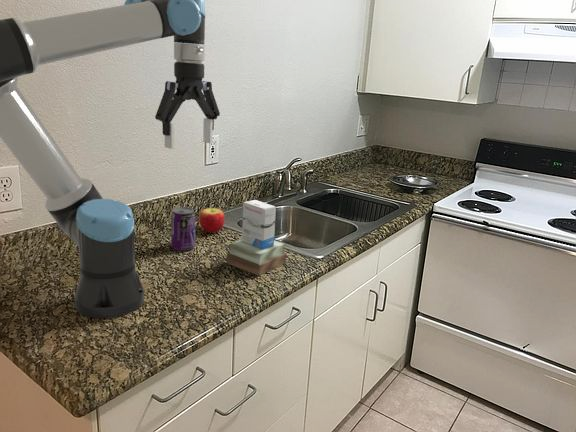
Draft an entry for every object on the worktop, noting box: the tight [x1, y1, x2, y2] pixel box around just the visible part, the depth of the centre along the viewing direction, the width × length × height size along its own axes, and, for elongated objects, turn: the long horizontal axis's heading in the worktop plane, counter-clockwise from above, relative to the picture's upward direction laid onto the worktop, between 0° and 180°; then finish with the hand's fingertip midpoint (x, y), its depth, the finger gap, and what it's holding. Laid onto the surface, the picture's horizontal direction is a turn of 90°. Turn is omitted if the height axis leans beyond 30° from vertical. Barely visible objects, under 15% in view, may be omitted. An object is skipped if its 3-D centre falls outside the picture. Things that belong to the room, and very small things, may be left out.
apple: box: [198, 202, 226, 234], centre depth 159 cm, size 8×8×10 cm
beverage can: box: [170, 206, 196, 252], centre depth 144 cm, size 7×7×12 cm
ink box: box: [241, 199, 277, 249], centre depth 136 cm, size 8×5×12 cm, turn 49°
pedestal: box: [226, 238, 287, 277], centre depth 138 cm, size 12×12×6 cm
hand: (189, 145), depth 129 cm, fingers open, 13 cm apart
